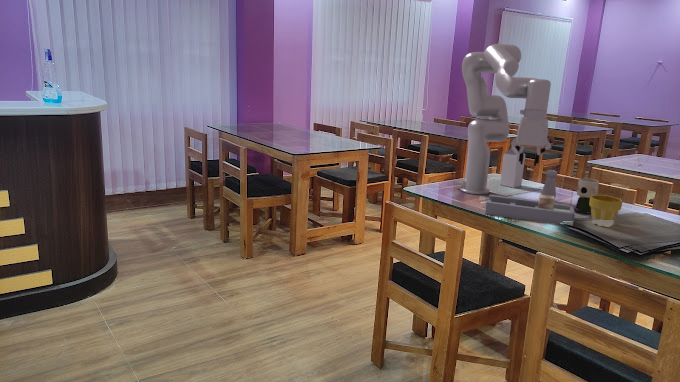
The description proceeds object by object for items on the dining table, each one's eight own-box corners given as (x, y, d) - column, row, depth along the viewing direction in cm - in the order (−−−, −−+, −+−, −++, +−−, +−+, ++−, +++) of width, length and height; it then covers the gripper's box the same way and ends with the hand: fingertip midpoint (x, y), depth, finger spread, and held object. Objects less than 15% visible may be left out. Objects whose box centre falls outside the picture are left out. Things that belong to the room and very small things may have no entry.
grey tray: (485, 214, 188) (486, 202, 187) (488, 205, 199) (489, 194, 198) (572, 226, 177) (574, 214, 176) (570, 216, 189) (572, 205, 188)
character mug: (566, 208, 201) (571, 176, 197) (582, 208, 202) (587, 176, 199) (584, 216, 190) (590, 183, 187) (601, 216, 192) (607, 183, 188)
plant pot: (579, 220, 185) (583, 194, 182) (601, 219, 188) (606, 193, 186) (601, 229, 175) (606, 202, 173) (624, 228, 179) (629, 201, 176)
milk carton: (499, 185, 236) (504, 145, 231) (507, 183, 241) (512, 143, 236) (513, 188, 231) (519, 147, 226) (521, 186, 236) (526, 146, 231)
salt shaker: (556, 203, 208) (560, 172, 205) (541, 201, 209) (546, 171, 206) (553, 199, 214) (557, 169, 210) (539, 198, 215) (543, 168, 212)
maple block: (537, 210, 184) (539, 197, 183) (537, 207, 189) (539, 194, 188) (552, 212, 183) (554, 199, 181) (552, 209, 187) (554, 196, 186)
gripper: (510, 113, 180) (503, 163, 184) (560, 117, 174) (552, 169, 178) (511, 111, 186) (504, 160, 191) (560, 115, 181) (552, 165, 185)
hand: (528, 164), depth 185 cm, fingers open, 4 cm apart
